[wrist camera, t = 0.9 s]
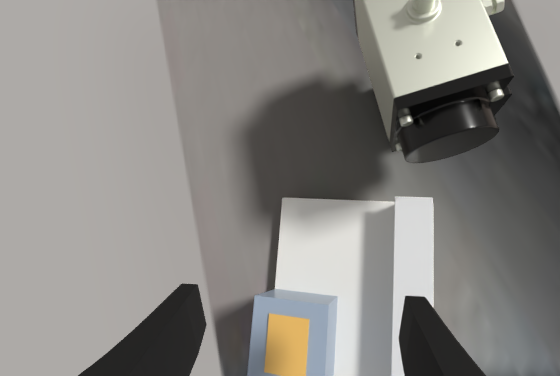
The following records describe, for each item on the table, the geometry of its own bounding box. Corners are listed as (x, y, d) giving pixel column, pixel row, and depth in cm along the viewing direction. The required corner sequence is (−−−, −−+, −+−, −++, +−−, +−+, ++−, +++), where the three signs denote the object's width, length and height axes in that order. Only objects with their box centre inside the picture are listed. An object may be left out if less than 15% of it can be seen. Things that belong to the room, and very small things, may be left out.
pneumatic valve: (394, 189, 24) (409, 130, 13) (355, 54, 27) (339, -88, 16) (475, 169, 23) (568, 86, 12) (425, 30, 26) (460, -142, 15)
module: (333, 373, 22) (323, 402, 18) (270, 361, 23) (245, 385, 19) (337, 296, 23) (328, 305, 19) (276, 288, 24) (254, 295, 20)
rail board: (431, 390, 21) (439, 412, 18) (272, 360, 24) (257, 375, 21) (431, 205, 23) (439, 197, 20) (285, 199, 27) (274, 192, 24)
